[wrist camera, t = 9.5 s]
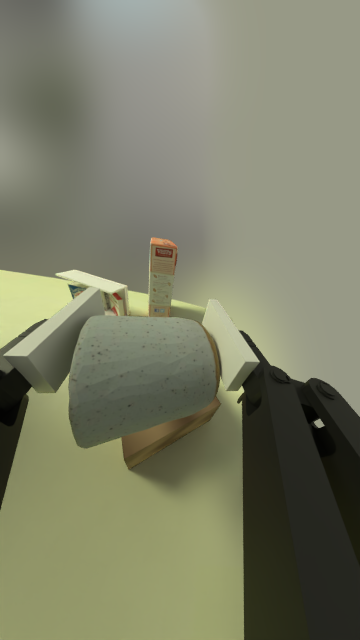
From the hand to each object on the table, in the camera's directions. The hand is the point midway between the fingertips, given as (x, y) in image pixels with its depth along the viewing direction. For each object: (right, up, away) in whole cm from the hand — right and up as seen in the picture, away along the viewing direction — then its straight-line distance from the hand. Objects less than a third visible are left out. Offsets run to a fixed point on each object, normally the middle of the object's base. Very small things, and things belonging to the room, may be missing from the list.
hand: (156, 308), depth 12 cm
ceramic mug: (-1, -7, +2) cm, 7 cm away
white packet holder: (-23, +2, +29) cm, 37 cm away
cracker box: (-5, +1, +32) cm, 32 cm away
